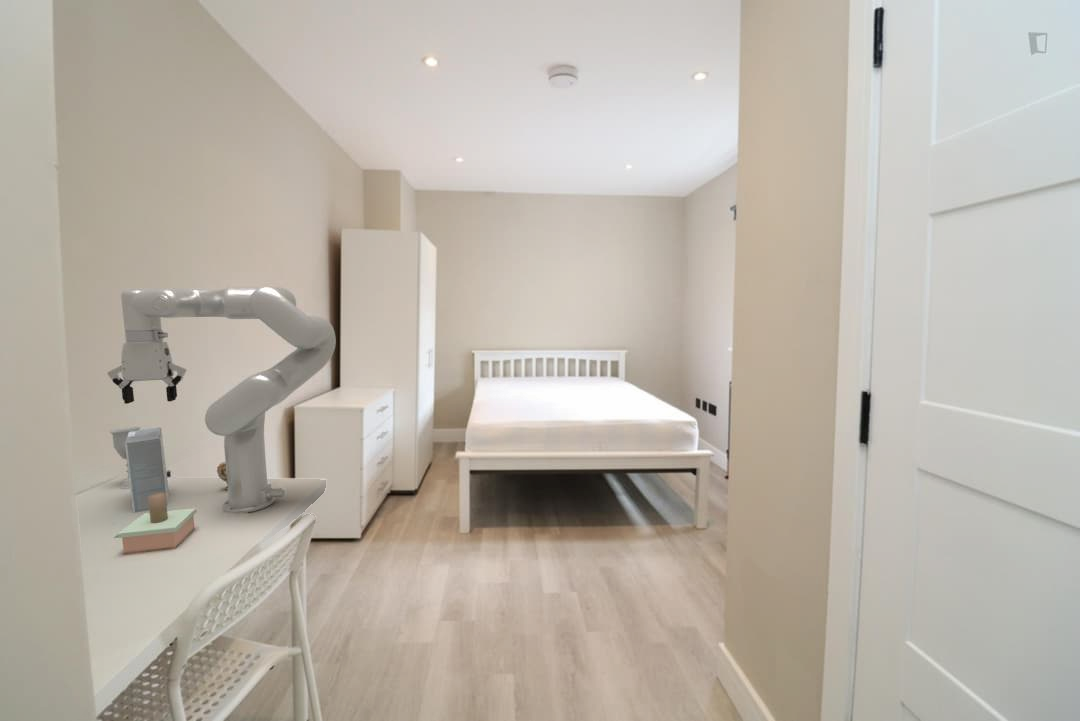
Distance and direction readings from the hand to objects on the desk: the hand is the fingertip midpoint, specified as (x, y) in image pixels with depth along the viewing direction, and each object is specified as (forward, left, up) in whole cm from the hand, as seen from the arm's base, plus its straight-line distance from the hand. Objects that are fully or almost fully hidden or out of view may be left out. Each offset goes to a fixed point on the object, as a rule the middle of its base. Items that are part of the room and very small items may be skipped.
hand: (150, 401), depth 129 cm
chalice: (+19, -25, -31) cm, 44 cm away
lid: (-9, +21, -26) cm, 34 cm away
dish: (-9, +21, -30) cm, 38 cm away
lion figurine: (-15, -15, -31) cm, 37 cm away
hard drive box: (+6, -8, -31) cm, 32 cm away
